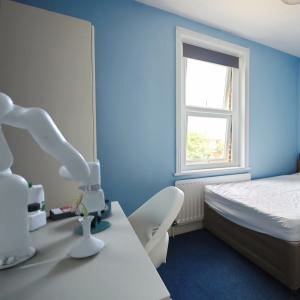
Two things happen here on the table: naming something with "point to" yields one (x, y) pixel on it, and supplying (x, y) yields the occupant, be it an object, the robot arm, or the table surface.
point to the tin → (106, 213)
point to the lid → (94, 227)
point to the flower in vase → (85, 234)
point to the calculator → (61, 213)
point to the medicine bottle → (35, 216)
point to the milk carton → (36, 195)
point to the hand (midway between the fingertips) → (93, 224)
